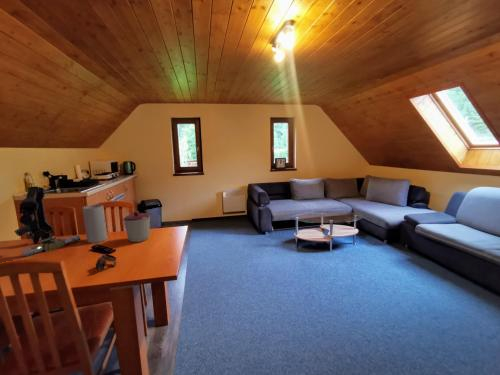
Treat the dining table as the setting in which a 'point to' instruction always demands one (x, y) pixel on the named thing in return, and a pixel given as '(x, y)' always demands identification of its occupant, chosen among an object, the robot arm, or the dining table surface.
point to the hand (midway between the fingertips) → (36, 244)
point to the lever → (42, 240)
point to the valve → (50, 245)
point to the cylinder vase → (95, 223)
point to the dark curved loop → (104, 261)
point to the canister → (137, 226)
